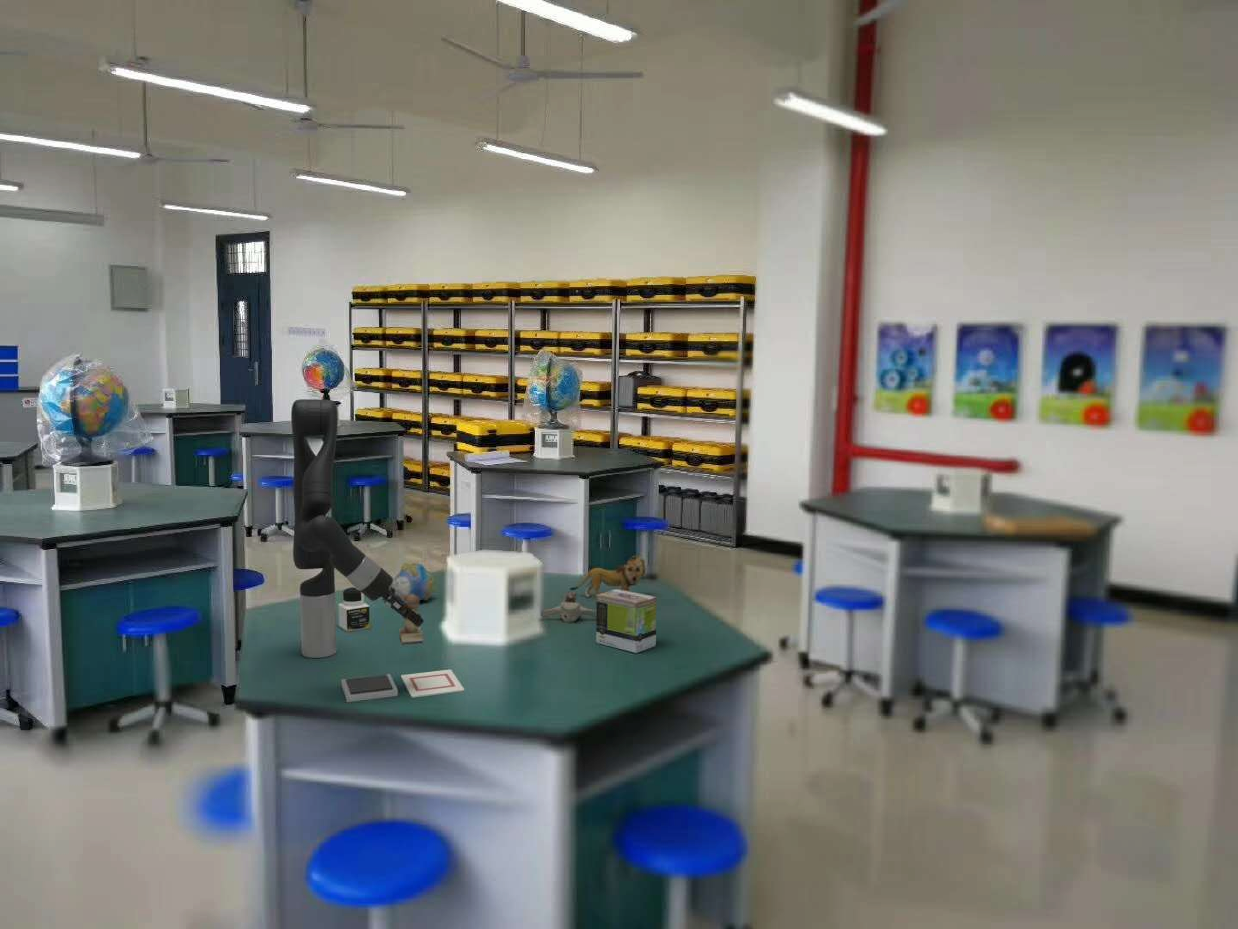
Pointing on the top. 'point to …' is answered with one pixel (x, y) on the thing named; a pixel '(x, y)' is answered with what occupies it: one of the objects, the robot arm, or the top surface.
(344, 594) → the medicine bottle
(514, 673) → the top surface
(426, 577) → the decorative rock
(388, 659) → the top surface
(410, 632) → the stamp
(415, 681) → the card
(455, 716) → the top surface
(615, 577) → the animal model
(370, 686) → the ink pad
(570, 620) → the vertebra
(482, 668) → the top surface
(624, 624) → the tea box
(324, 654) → the robot arm
